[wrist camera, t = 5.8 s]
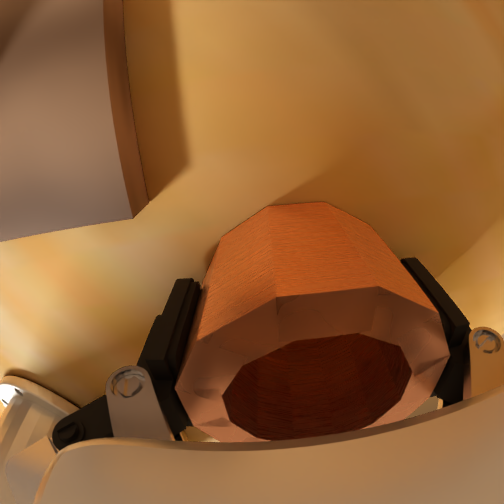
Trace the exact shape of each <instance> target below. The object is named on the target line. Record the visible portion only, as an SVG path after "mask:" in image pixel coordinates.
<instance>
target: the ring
mask: <svg viewBox="0 0 504 504" xmlns="http://www.w3.org/2000/svg"><path fill="white" fill-rule="evenodd" d="M449 357H450V353H449V349H448V345H447V341H446V337H445V334H444V330H443V326H442V323H441V319H440V316H439V312H438V311H437V310H436V308H435V307H434V305H433V304H432V303H431V301H430V300H429V299H428V297H427V296H426V295H425V293H424V292H423V290H422V289H421V288H420V287H419V285H418V284H417V283H416V281H415V280H414V279H413V277H412V276H411V275H410V273H409V272H408V271H407V270H406V268H405V267H404V266H403V265H402V263H401V262H400V261H399V260H398V258H397V257H396V256H395V255H394V253H393V252H392V251H391V250H390V249H389V247H388V246H387V245H386V244H385V243H384V241H383V240H382V239H381V238H380V237H379V236H378V234H377V233H376V232H375V231H374V230H373V229H372V227H371V226H370V225H369V224H367V223H365V222H363V221H361V220H359V219H357V218H355V217H353V216H351V215H350V214H348V213H346V212H344V211H342V210H340V209H338V208H336V207H334V206H332V205H330V204H328V203H326V202H314V203H300V204H288V205H276V206H267V207H265V208H264V209H262V210H261V211H260V212H258V213H257V214H255V215H254V216H252V217H251V218H249V219H248V220H246V221H245V222H243V223H242V224H240V225H239V226H237V227H236V228H234V229H233V230H232V231H230V232H229V233H227V234H226V235H224V236H223V237H222V238H221V240H220V243H219V245H218V247H217V249H216V252H215V254H214V256H213V259H212V261H211V263H210V266H209V268H208V270H207V273H206V275H205V277H204V279H203V283H202V286H201V291H200V295H199V298H198V302H197V306H196V309H195V313H194V317H193V320H192V324H191V328H190V332H189V335H188V339H187V343H186V347H185V351H184V355H183V359H182V363H181V366H180V370H179V373H178V377H177V381H176V385H175V390H176V392H177V394H178V396H179V398H180V400H181V402H182V404H183V406H184V408H185V410H186V412H187V414H188V416H189V418H190V420H191V422H192V424H193V426H195V427H196V428H198V429H200V430H201V431H203V432H205V433H206V434H208V435H210V436H212V437H213V438H215V439H217V440H219V441H220V442H263V441H279V440H291V439H301V438H310V437H318V436H325V435H332V434H338V433H344V432H350V431H356V430H361V429H366V428H371V427H375V426H380V425H384V424H388V423H392V422H396V421H400V420H404V419H405V418H406V417H407V416H408V415H410V414H411V413H412V412H413V411H414V410H416V409H417V408H418V407H419V406H420V405H421V404H422V403H424V402H425V401H426V400H427V399H428V398H429V397H430V396H431V394H432V392H433V390H434V388H435V386H436V384H437V382H438V380H439V378H440V376H441V374H442V372H443V370H444V368H445V365H446V363H447V361H448V359H449Z"/></svg>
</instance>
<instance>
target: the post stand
mask: <svg viewBox="0 0 504 504" xmlns="http://www.w3.org/2000/svg"><path fill="white" fill-rule="evenodd" d="M148 203H149V200H148V195H147V190H146V185H145V181H144V176H143V170H142V165H141V160H140V154H139V149H138V143H137V137H136V131H135V125H134V118H133V111H132V104H131V96H130V89H129V80H128V71H127V61H126V50H125V37H124V21H123V0H0V242H2V241H7V240H12V239H17V238H22V237H27V236H32V235H37V234H42V233H48V232H53V231H59V230H64V229H70V228H76V227H82V226H88V225H94V224H100V223H107V222H113V221H120V220H127V219H133V218H134V217H135V216H136V215H137V214H138V213H139V212H140V211H141V210H142V209H143V208H144V207H145V206H146V205H147V204H148Z"/></svg>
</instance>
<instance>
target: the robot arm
mask: <svg viewBox="0 0 504 504" xmlns="http://www.w3.org/2000/svg"><path fill="white" fill-rule="evenodd" d="M400 262H401V263H402V265H403V266H404V267H405V268H406V270H407V271H408V272H409V273H410V275H411V276H412V277H413V279H414V280H415V281H416V283H417V284H418V285H419V287H420V288H421V289H422V290H423V292H424V293H425V295H426V296H427V297H428V299H429V300H430V301H431V303H432V304H433V305H434V307H435V308H436V310H437V311H438V312H439V316H440V319H441V323H442V326H443V330H444V334H445V337H446V341H447V345H448V349H449V353H450V357H449V359H448V361H447V363H446V365H445V368H444V370H443V372H442V374H441V376H440V378H439V380H438V382H437V384H436V386H435V388H434V390H433V392H432V394H431V396H430V397H433V396H437V398H439V401H438V410H435V411H432V412H428V413H425V414H422V415H418V416H415V417H412V418H408V419H404V420H400V421H396V422H392V423H388V424H384V425H380V426H375V427H371V428H366V429H361V430H356V431H350V432H344V433H338V434H332V435H325V436H318V437H310V438H301V439H291V440H279V441H263V442H188V441H185V440H184V438H183V436H182V433H181V432H182V431H183V430H185V429H186V426H193V424H192V422H191V420H190V418H189V416H188V414H187V412H186V410H185V408H184V406H183V404H182V402H181V400H180V398H179V396H178V394H177V392H176V390H175V385H176V381H177V377H178V373H179V370H180V366H181V363H182V359H183V355H184V351H185V347H186V343H187V339H188V335H189V332H190V328H191V324H192V320H193V317H194V313H195V309H196V306H197V302H198V298H199V295H200V291H201V289H200V285H199V282H194V280H193V279H192V278H186V279H177V280H176V282H175V284H174V287H173V289H172V292H171V294H170V296H169V299H168V301H167V304H166V306H165V309H164V311H163V314H162V315H158V316H157V317H156V319H155V321H154V323H153V326H152V328H151V330H150V333H149V335H148V338H147V340H146V343H145V345H144V348H143V350H142V353H141V355H140V358H139V360H138V363H137V366H126V367H123V368H120V369H118V370H117V371H115V372H114V373H112V375H111V376H110V377H109V378H108V380H107V383H106V395H104V396H102V397H101V398H99V399H97V400H95V401H94V402H92V403H90V404H88V405H86V406H85V407H83V408H81V409H79V408H78V407H76V406H74V405H73V404H71V403H70V402H68V401H67V400H65V399H63V398H62V397H60V396H58V395H56V394H55V393H53V392H51V391H50V390H48V389H46V388H44V387H42V386H40V385H38V384H36V383H33V382H31V381H29V380H27V379H23V378H20V377H17V376H5V377H3V378H2V379H1V381H0V400H1V401H2V403H3V405H4V406H5V407H6V408H5V410H4V412H3V414H2V416H1V417H0V504H504V340H503V338H502V337H501V335H500V334H499V333H498V332H496V331H495V330H493V329H491V328H488V327H477V328H474V329H473V330H471V329H470V327H469V324H470V323H469V321H468V320H467V319H466V317H465V316H464V315H463V313H462V312H461V311H460V309H459V308H458V307H457V306H456V304H455V303H454V302H453V300H452V299H451V298H450V297H449V296H448V294H447V293H446V292H445V291H444V289H443V288H442V287H441V286H440V285H439V283H438V282H437V281H436V280H435V279H434V277H433V276H432V275H431V274H430V273H429V272H428V270H427V269H426V268H425V267H424V266H423V265H422V264H421V262H420V261H419V260H418V259H417V258H405V259H401V261H400Z"/></svg>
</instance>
